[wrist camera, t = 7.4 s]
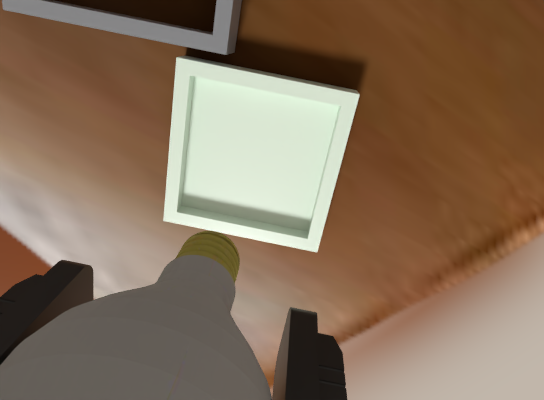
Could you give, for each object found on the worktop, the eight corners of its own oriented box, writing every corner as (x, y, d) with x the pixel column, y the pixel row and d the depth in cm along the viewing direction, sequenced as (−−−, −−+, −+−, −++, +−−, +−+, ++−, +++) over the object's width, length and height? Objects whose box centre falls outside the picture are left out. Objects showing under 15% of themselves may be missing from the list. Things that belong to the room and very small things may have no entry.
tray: (171, 210, 27) (163, 220, 25) (185, 55, 23) (176, 57, 21) (316, 240, 27) (317, 252, 25) (356, 90, 23) (359, 94, 21)
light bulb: (293, 178, 13) (254, 564, 4) (290, 314, 15) (260, 774, 6) (129, 173, 13) (-290, 507, 4) (149, 306, 15) (-91, 722, 6)
